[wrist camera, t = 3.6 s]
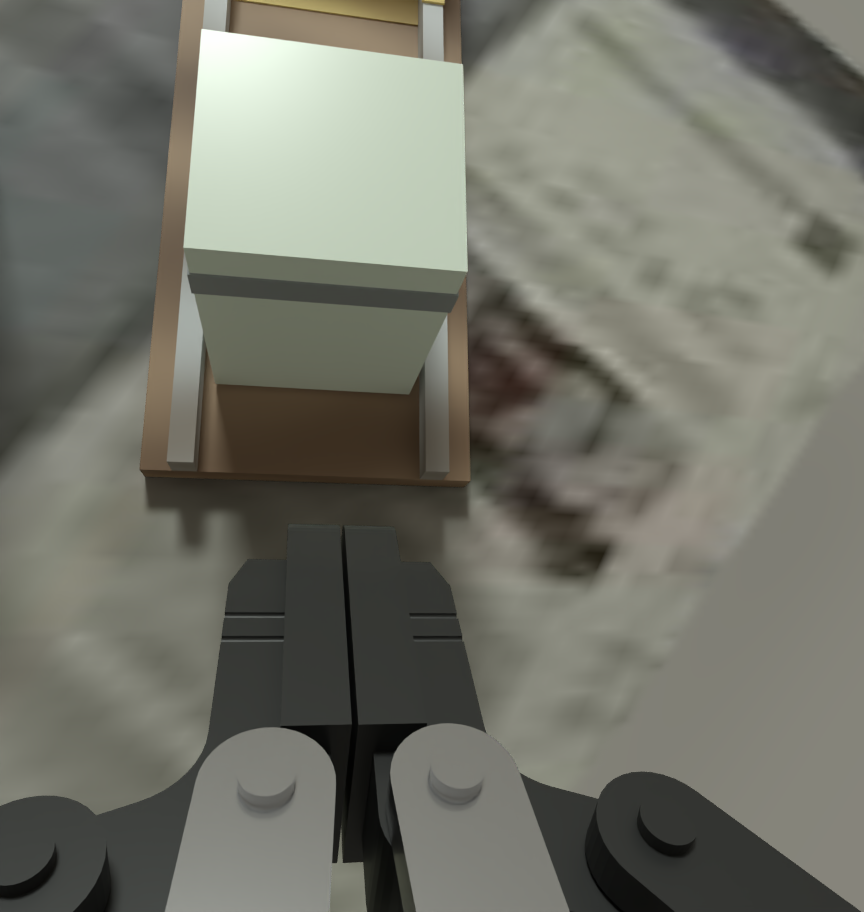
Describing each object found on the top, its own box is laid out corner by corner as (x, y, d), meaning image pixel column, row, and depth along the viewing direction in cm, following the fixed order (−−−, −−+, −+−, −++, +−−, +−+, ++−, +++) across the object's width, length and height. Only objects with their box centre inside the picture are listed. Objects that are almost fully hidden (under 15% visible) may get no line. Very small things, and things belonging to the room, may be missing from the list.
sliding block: (410, 396, 27) (469, 273, 19) (213, 385, 26) (180, 249, 18) (410, 240, 29) (464, 63, 20) (224, 223, 28) (199, 26, 19)
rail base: (464, 487, 28) (520, 432, 21) (144, 476, 26) (98, 412, 19) (452, -115, 35) (492, -295, 29) (201, -159, 33) (182, -364, 27)
